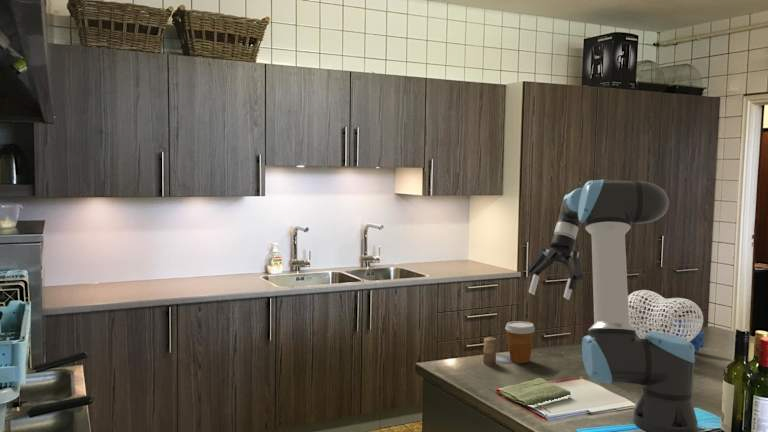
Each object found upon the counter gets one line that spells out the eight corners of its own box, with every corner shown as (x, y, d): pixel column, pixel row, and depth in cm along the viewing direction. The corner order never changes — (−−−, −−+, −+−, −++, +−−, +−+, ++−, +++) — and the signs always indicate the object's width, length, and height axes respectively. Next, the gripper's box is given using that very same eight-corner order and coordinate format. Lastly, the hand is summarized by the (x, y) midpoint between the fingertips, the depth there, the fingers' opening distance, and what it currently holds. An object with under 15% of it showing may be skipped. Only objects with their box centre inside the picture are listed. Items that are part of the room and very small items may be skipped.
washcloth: (495, 396, 187) (495, 385, 187) (540, 386, 196) (541, 375, 196) (527, 411, 176) (528, 400, 176) (574, 400, 185) (574, 389, 185)
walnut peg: (491, 366, 208) (492, 341, 208) (480, 363, 211) (481, 339, 210) (498, 363, 211) (499, 339, 211) (487, 360, 214) (488, 336, 213)
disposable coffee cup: (501, 362, 213) (501, 326, 212) (510, 355, 221) (510, 319, 220) (530, 366, 208) (530, 328, 207) (538, 358, 217) (538, 322, 216)
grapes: (665, 350, 236) (667, 317, 235) (672, 346, 241) (675, 314, 240) (699, 357, 228) (701, 323, 227) (706, 354, 233) (708, 320, 232)
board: (509, 376, 203) (509, 372, 203) (474, 367, 211) (475, 363, 211) (539, 361, 219) (539, 357, 218) (505, 353, 226) (506, 350, 226)
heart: (611, 349, 235) (614, 288, 233) (640, 344, 243) (644, 285, 241) (679, 372, 211) (684, 304, 209) (710, 366, 218) (714, 300, 216)
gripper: (602, 244, 219) (587, 304, 213) (539, 239, 237) (523, 294, 232) (592, 235, 214) (576, 296, 209) (528, 231, 232) (512, 287, 227)
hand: (548, 295), depth 220 cm, fingers open, 13 cm apart
